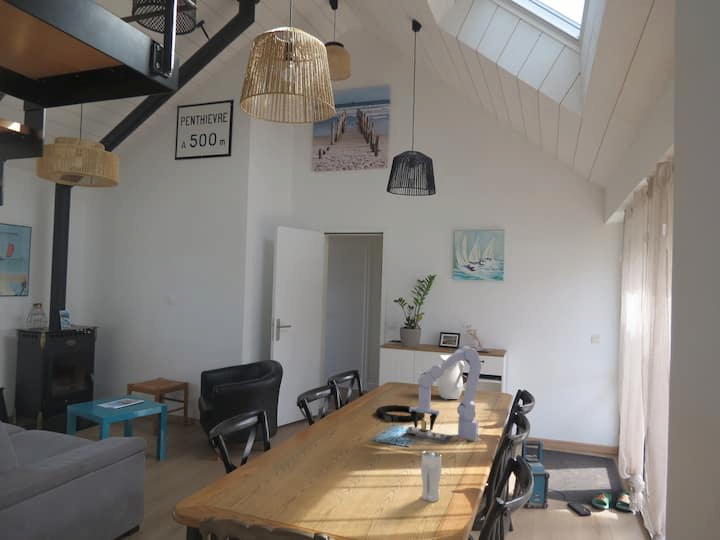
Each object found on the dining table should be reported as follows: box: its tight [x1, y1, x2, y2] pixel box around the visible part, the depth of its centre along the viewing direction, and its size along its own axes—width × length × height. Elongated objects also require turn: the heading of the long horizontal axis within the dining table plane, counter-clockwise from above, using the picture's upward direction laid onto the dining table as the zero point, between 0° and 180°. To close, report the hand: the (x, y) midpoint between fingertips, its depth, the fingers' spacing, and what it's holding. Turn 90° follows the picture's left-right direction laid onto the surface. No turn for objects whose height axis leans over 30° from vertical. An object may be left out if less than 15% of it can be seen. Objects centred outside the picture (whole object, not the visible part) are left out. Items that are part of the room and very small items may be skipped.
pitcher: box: [436, 354, 465, 400], centre depth 338 cm, size 24×17×28 cm
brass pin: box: [420, 417, 427, 432], centre depth 247 cm, size 2×2×8 cm
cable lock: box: [375, 404, 426, 423], centre depth 287 cm, size 28×4×30 cm
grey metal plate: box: [405, 426, 448, 441], centre depth 247 cm, size 19×6×3 cm, turn 66°
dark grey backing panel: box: [400, 431, 454, 445], centre depth 246 cm, size 22×16×1 cm
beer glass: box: [420, 450, 443, 503], centre depth 176 cm, size 7×7×15 cm
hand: (423, 428), depth 247 cm, fingers open, 7 cm apart
